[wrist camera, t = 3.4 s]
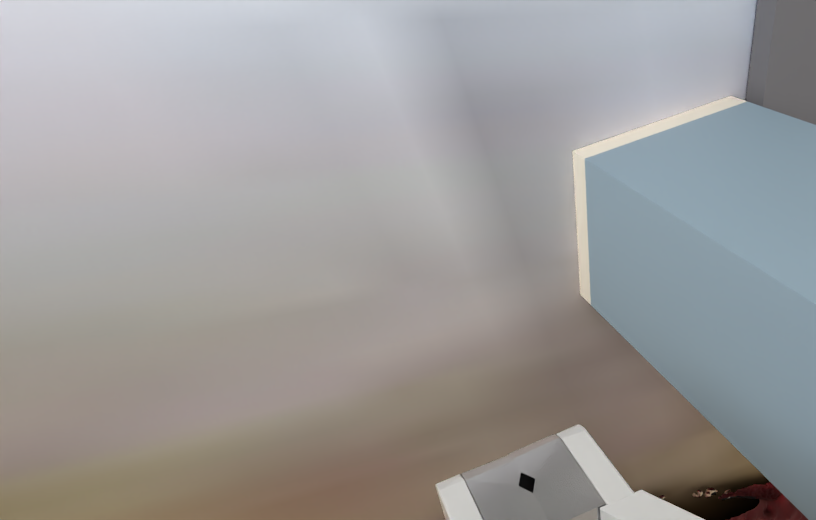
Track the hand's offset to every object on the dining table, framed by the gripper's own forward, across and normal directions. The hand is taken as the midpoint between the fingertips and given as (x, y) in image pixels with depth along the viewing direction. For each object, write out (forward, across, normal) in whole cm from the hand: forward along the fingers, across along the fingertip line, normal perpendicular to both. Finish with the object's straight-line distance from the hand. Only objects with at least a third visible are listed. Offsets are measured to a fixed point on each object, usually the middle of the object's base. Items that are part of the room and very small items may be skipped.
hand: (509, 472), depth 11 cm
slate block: (+6, -8, 0) cm, 10 cm away
